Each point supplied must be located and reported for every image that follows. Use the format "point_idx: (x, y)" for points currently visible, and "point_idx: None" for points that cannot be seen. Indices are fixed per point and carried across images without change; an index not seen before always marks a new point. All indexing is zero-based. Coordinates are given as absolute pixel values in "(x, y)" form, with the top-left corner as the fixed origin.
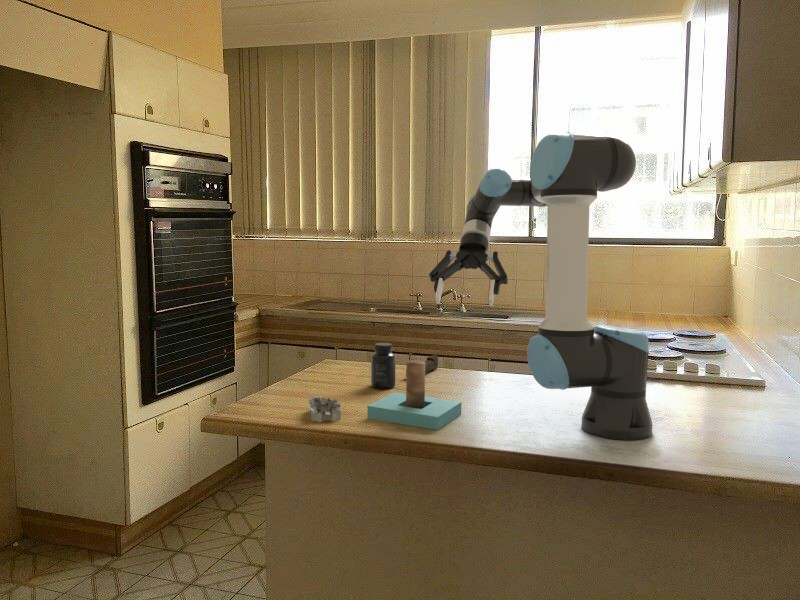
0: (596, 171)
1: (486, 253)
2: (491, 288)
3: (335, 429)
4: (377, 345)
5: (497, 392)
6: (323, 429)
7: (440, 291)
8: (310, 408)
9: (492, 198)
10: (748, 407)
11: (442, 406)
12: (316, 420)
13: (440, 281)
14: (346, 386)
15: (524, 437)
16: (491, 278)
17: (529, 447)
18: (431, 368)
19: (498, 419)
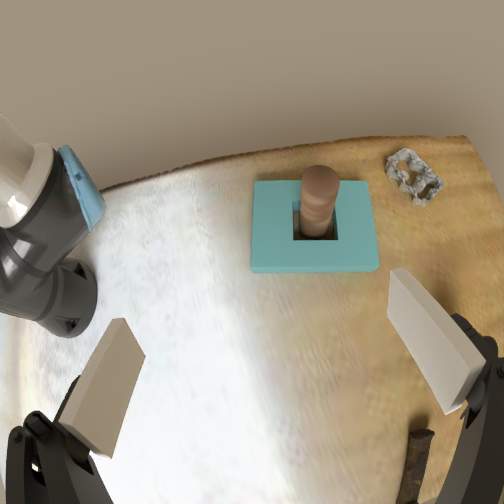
0: None
1: None
2: (92, 370)
3: (363, 145)
4: (489, 336)
5: (239, 432)
6: (373, 141)
7: (417, 325)
8: (411, 151)
9: None
10: (4, 420)
11: (269, 227)
12: (400, 158)
13: (458, 343)
14: (478, 319)
15: (152, 220)
16: (96, 488)
17: (145, 194)
18: (401, 492)
19: (193, 275)
